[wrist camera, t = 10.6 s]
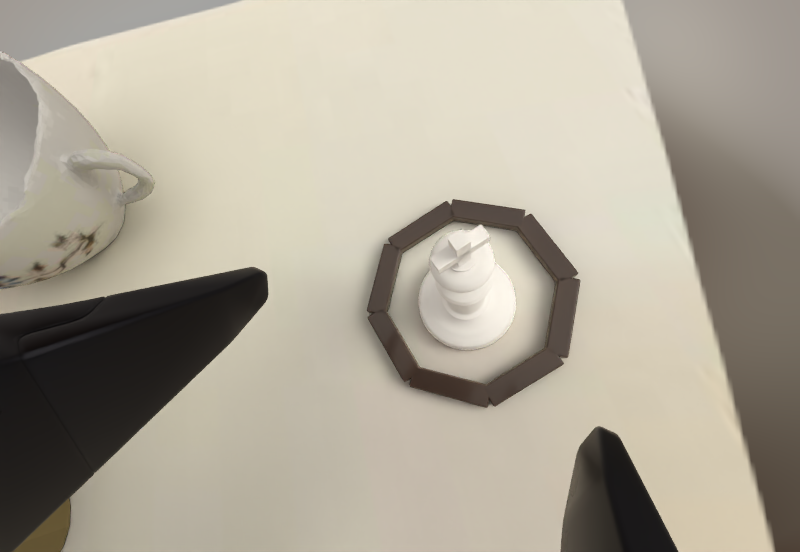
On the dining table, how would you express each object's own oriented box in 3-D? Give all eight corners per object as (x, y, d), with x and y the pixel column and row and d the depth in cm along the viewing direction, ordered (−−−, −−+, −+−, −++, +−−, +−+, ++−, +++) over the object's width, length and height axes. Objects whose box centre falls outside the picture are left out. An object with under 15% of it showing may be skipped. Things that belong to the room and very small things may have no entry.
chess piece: (401, 288, 20) (335, 219, 10) (478, 238, 20) (483, 120, 10) (452, 369, 19) (430, 375, 9) (536, 315, 18) (605, 263, 9)
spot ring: (354, 370, 19) (350, 370, 19) (399, 195, 21) (397, 190, 21) (554, 425, 17) (557, 427, 17) (586, 223, 19) (590, 219, 18)
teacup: (-6, 314, 25) (-218, 293, 17) (36, 148, 28) (-130, 65, 20) (193, 308, 22) (45, 278, 14) (216, 123, 25) (103, 18, 17)
